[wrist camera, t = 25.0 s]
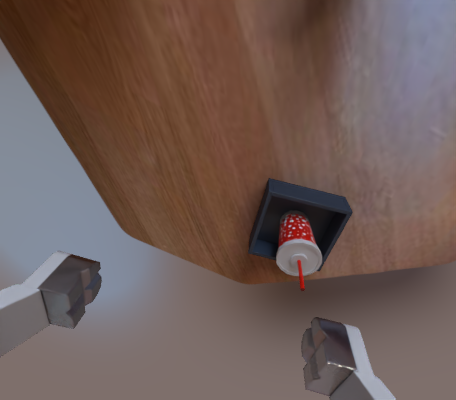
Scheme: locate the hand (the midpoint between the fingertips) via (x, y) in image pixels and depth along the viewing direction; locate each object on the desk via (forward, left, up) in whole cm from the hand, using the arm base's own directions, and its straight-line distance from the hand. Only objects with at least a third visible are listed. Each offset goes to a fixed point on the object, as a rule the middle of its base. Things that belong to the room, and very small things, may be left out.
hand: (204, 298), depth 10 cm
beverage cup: (+11, -15, -30) cm, 36 cm away
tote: (+11, -15, -31) cm, 36 cm away
